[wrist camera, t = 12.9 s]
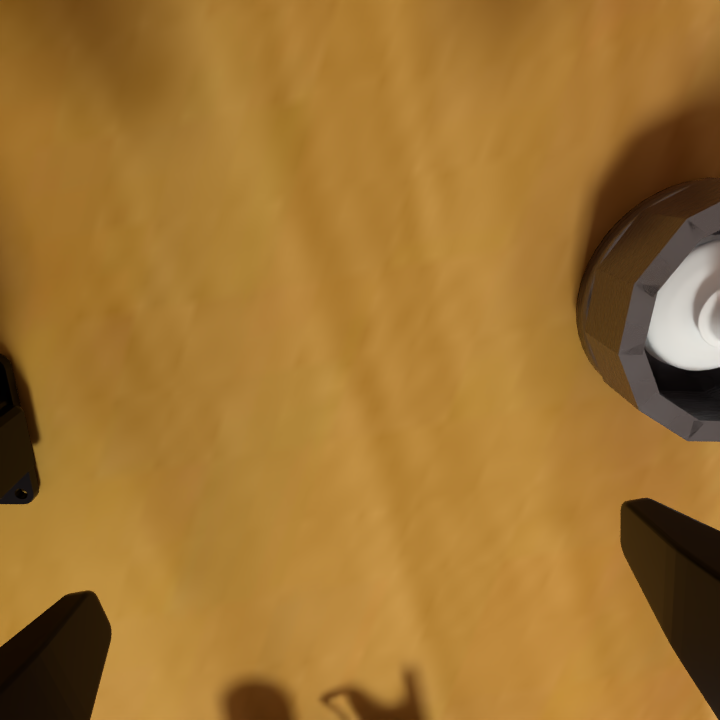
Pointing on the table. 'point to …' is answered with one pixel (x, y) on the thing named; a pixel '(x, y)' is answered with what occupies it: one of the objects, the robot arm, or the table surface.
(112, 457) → the table surface
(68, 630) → the robot arm
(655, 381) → the mount
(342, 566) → the table surface
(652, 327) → the chess piece
